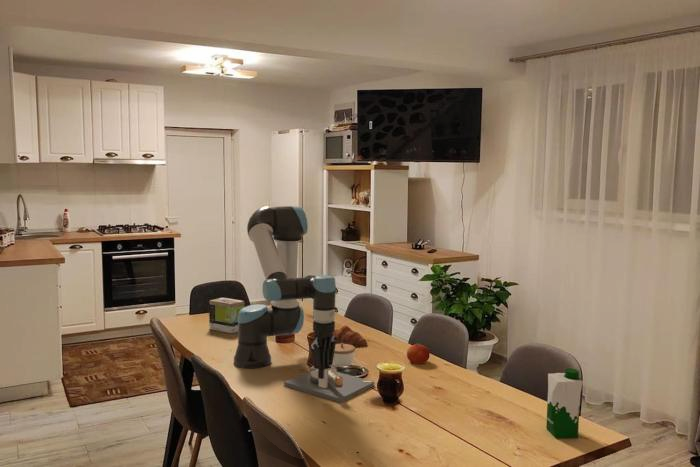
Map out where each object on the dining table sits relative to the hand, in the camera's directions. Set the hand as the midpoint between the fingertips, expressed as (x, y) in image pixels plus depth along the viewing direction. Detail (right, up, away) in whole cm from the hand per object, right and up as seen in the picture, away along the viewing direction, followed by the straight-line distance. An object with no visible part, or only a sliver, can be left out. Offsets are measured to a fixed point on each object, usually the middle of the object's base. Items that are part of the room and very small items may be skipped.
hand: (323, 386), depth 208 cm
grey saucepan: (+2, -2, +10) cm, 10 cm away
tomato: (+38, -1, +42) cm, 57 cm away
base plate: (+2, -3, +13) cm, 14 cm away
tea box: (-51, +6, +87) cm, 101 cm away
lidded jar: (+6, -1, +36) cm, 36 cm away
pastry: (+7, +2, +69) cm, 69 cm away
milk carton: (+75, -9, -24) cm, 79 cm away
